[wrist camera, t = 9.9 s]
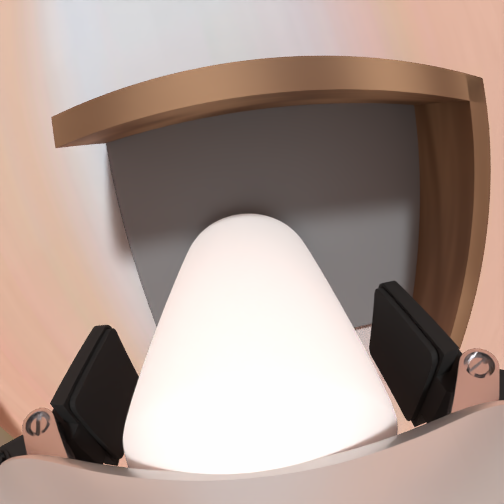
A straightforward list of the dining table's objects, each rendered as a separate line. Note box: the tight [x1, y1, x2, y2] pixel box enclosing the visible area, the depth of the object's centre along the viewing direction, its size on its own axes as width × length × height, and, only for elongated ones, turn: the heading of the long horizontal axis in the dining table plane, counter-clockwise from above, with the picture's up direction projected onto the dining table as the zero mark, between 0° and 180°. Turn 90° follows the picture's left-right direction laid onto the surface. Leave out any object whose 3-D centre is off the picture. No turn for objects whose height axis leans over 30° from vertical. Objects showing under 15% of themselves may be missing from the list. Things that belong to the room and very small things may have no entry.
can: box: [123, 214, 397, 474], centre depth 9 cm, size 6×6×12 cm
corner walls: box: [52, 56, 491, 349], centre depth 12 cm, size 17×14×5 cm
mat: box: [106, 103, 420, 328], centre depth 14 cm, size 17×14×1 cm
